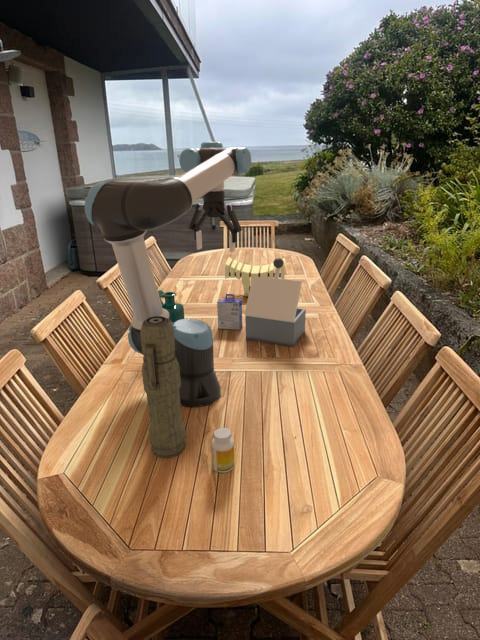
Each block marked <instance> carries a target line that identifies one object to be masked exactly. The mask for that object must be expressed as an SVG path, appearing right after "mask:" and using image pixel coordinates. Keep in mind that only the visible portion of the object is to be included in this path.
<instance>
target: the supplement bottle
mask: <svg viewBox="0 0 480 640" xmlns="http://www.w3.org/2000/svg"><path fill="white" fill-rule="evenodd" d="M210 443H211V445H210V447H211V448H210V449H211V466H212V469H213V470H214V471H216V472H217V473H223V474H224V473H225V474H226V473H230V472H231V471H232V470H233V469H234V467H235V441H234V438H233V437H232V431H231V430H230V429H229V428H227V427H219V428H217V429H215V430H214V432H213V438H212V440H211V442H210Z"/></svg>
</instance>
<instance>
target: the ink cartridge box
mask: <svg viewBox="0 0 480 640" xmlns="http://www.w3.org/2000/svg"><path fill="white" fill-rule="evenodd" d="M216 308H217V329H222V330H224V329H225V330H235V331H236V330H237V331H239V330H241V329H242V328H243V299H241V298H237V299H236V298H235V294H233V293H226V294H225V298H219V299H218V301H216Z"/></svg>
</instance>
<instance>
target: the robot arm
mask: <svg viewBox="0 0 480 640" xmlns="http://www.w3.org/2000/svg"><path fill="white" fill-rule="evenodd" d="M178 160H179V161H178V163H179V166H180V168H181V170H182V172H184V173H182V174H181V175H179V176H177V177H174V176H171V177H167V178H165V179H164V180H159V181H158V180H157V181H114V180H109V181H101V182H98V183H95V184H94V185H93V186H91V188H90V189H89V191H88V192H87V196H86V197H85V201H84V212H85V213H84V214H85V216H86V219H87V221H88V222H89V223H90V225H92V226H93V227H96V228H98V229H100V231H101V234H102V237H103V240H104V241H105V242H107V243H109V244H110V245H111V246H112V247H111V248H112V249H113V252H114V255H115V259H116V261H117V262H116V263H117V267H118V269H119V271H120V275H121V279H122V280H123V284H124V287H125V291H126V294H127V297H128V300H129V302H130V306H131V310H132V314H133V317H132V318H131V323H130V324H129V327H128V331H129V332H128V333H127V339H128V343H129V345H130V347H131V349H133V351H135V352H136V353H138V354H141V355H143V353H142V345H141V336H140V332H141V327H142V323H143V321H144V320H146V319H147V318H150V317H154V316H162V317H165V318H168V319H169V320H170V323H171V325H172V327H173V330H174V339H175V354H176V359H177V361H178V364H179V368H180V381H181V386H180V389H179V392H180V405H181V406H182V407H183V406H184V407H189V408H196V407H197V408H198V407H203V406H206V405H207V406H208V405H210V404H213V403H214V402H216V401H217V400H218V399H219V398H220V396H221V383H220V382H219V378H218V377H217V374H216V371H215V366H214V365H215V364H214V363H215V362H214V338H213V332H212V328H211V326H210V325H209V324H208V323H207V322H205V321H203V320H200V319H197V318H189V319H188V318H184V319H181V320H178V321H176V322H175V323H173V322H171V319H170V315H169V312H168V311H167V310H166V309H163V308H162V305H161V301H160V297H159V293H158V291H159V290H158V286H157V283H156V279H155V275H154V271H153V268H152V264H151V260H150V257H149V254H148V250H147V249H148V248H147V246H146V242H145V239H144V236H145V235H146V234H147V231H152V230H156V229H159V228H162V227H164V226H167V225H169V224H170V223H173V222H174V221H176V220H178V219H180V218H181V217H182V216H184V215H185V214H187V213H188V212H190V210H191V208H192V206H193V204H194V203H195V202H197V201H198V200H199V199H201V198H202V201H203V204H202V203H201V202H200V203H196V204H195V211H194V213H193V216H192V218H191V221H190V223H189V226H188V229H189V230H192V231H193V233H194V234H193V235H194V236H193V237H194V240H195V241H196V250H201V249H203V237H202V235H203V234H202V230H201V228H202V227H203V225H204V224H205V223H206V221H207V220H208V218H215V219H216V218H217V219H218V218H219V219H220V220H221V221H222V222H223V224H224V225H225V226H226V228H227V229H228V230H229V231H230V233H229V238H228V239H229V240H228V241H229V253H233V252H235V251H236V246H235V244H236V243H237V241H238V237H237V236H238V235H237V234H238V233H241V232H242V231H243V229H242V227H241V224H240V222H239V220H238V217H237V215H236V213H235V210H234V206H233V204H227V205H226V204H225V200H226V199H225V191H224V189H225V181H226V180H227V179H229V178H230V177H232V176H233V175H235V174H238V175H242V174H247V173H248V172H249V171H250V169H251V167H252V155H251V152H250V150H249V149H248V148H247V147H241V146H233V147H224V146H223V144H222V142H220V141H218V142H217V141H207V142H201V143H200V147H197V148H195V147H190V148H185V149H184V150H182V151H181V153H180V155H179V158H178ZM202 210H204V213H203V214H202V215H201V213H202ZM225 211H226V212H227V214H228V215H227V214H226V212H225ZM200 216H201V218H200Z"/></svg>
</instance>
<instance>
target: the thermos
mask: <svg viewBox="0 0 480 640" xmlns="http://www.w3.org/2000/svg"><path fill="white" fill-rule="evenodd" d="M140 336H141V345H142V353H143V354H142V355H143V357H142V360H143V361H142V362H143V363H142V367H141V375H142V385H143V390H144V393H145V394H146V400H147V410H148V417H149V426H148V436H149V444H150V445H151V446H150V447H151V452H152V454H153V455H155V456H156V457H157V458H162V459H168V458H169V459H170V458H174V457H177V456H179V455H181V454H182V453H183V451H185V448H186V440H185V439H186V429H185V428H186V427H185V422H184V419H183V416H182V405H180V392H179V389H180V386H181V381H180V368H179V364H178V361H177V359H176V354H175V339H174V330H173V327H172V325H171V323H170V320H169V319H168V318H165V317H162V316H154V317H150V318H147V319H146V320H144V321H143V323H142V327H141V332H140Z"/></svg>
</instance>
